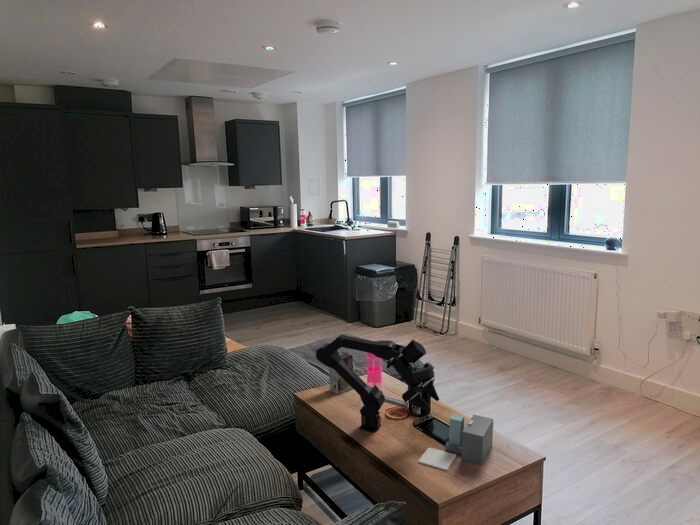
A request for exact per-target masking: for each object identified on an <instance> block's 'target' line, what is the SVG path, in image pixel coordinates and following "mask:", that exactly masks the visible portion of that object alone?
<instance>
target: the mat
mask: <svg viewBox="0 0 700 525" xmlns="http://www.w3.org/2000/svg"><path fill="white" fill-rule="evenodd" d="M456 457H457V454H456V453H453V452H452V453H451V452H449V451H444V450H440V449H436V448H433V447H428V448H427V449H426V450H425V452H424V453H423V454H422V455H421V456H420V458H419V460H417V463H418V462H419V464H422V465H425V466H429V467H433V468H436V469H439V470H442V471H448V470H449V469H450V467H451V465H452V464H453V462H454V460H455V459H456Z"/></svg>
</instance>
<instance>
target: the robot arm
mask: <svg viewBox="0 0 700 525" xmlns="http://www.w3.org/2000/svg"><path fill="white" fill-rule="evenodd" d="M341 348H343V349H344V348H345V349H350V350H354V351H359V352H364V353H369V354H371V355H374V356H375V357H376V358H379V359H380V360H384V361H386V369H390V368H391V367H392V368H393V369H394V371H395V372H396V373H397V374H398V375H399V376H400V379H399V380H400V381H401V382H404V383H405V384H406V385H407V386H408V387H407V390H405V391H404V392H403V393H402V395H401V399H402V401H405V403H406V402H408V403H412V404H414V406H417V407H419V408H421V409H423V410H424V411H427V412H430V411H431V408H430V406H429V404H428V403H427V401H426V400H425V399H424V396H423V397H422V391H420V387H423V388H422V390H423V391H424V392H423V393H426V394H427V395H428V396H429V397H430V398H432V399H433V400H434V401H436V402H439V401H440V397H439V395H438V392H437V390H436V388H435V386H434V385H435V384H434V382H435V374H436V373H435V372H434V369H435V367H434V366H433V364H431V363H430V362H428V361H427V362H426V363H424V364H423V367H421V368H418V367H417V366H414V367H413V365H412V364H415V363H417V362H418V361H419V360H420V359H422V358H423V357H424V356H425V355H426V354H427V351H426V348H425V346H423V344H422V343H419V342H418V341H416V340H415V339H411V340H410V342H409V343H408V344H407V345H402V344H397V343H396V342H395V341H393V340H383V339H382V340H376V341H375V340H370V339H364V338H358V337H354V336H349V335H345V334H340V335H338V336H337V337H336V338H335V339H333V341H331V342H330V343H328V342H326V343H324V344H323V345H322V346H321V347H319V348H318V349H317V350H316V351H315V359H316V360H317V361H318V362H320V363H321V364H322V365H323V366H325V367H328V368H329V367H330V368H332V369H334V370H335V371H336V372H337V373H338V374H339V375H340V376H341V377H342V378H343V379H344V380H345V381H346V382H347V383H348V384H349V385H350V386H351V387H352V388H353V389H352V390H354V391H355V392H356V393H357V395H359V398H360V400H361V403H362V404H363V406H362V407H360V410H359V412H360V419H361V421H360V426H359V427H358V428H359V429H360V430H365V431H367V432H371V433H375V432H377V430H378V429H379V428H380V427H381V426H382V423H381V422H382V421H381V420H382V419H381V418H382V417H381V416H380V409H381V408H382V406H383V405H384V404H385V402H386V401H385V397H384V396H385V395H384V394H383V392H384V391H382V390H381V389H379V387H378V386H377V385H374V386H373V387H372V386H370V385H368V384H367V383H366V382H365V381H364V380H363V379H362V378H361V377H360V376H359V375H358V374H357V373H356V372H355V371H354V370H352V369H351V368H349V367H348V366H347V365H346V364H345V363H344V362H343V361H342V359H341V358H340V355H339V353H340V352H339V351H338V350H339V349H341ZM419 391H420V392H419ZM409 399H410V400H409Z"/></svg>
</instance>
